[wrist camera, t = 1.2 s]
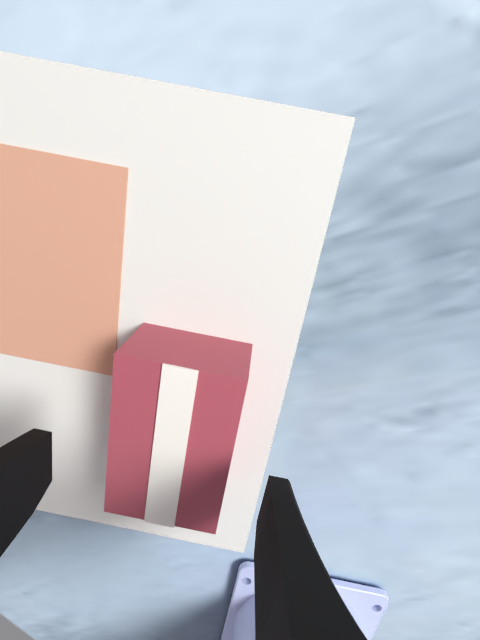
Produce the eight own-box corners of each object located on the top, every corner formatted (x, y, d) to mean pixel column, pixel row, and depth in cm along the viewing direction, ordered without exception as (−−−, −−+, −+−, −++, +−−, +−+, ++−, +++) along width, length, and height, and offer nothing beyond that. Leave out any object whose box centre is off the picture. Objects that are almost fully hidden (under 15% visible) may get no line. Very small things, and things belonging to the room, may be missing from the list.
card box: (224, 477, 17) (215, 536, 14) (131, 459, 17) (102, 513, 14) (252, 344, 15) (248, 381, 12) (143, 322, 15) (112, 354, 12)
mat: (244, 542, 19) (243, 554, 19) (-50, 481, 19) (-61, 491, 19) (351, 121, 12) (355, 117, 12) (-106, 35, 13) (-126, 26, 12)
